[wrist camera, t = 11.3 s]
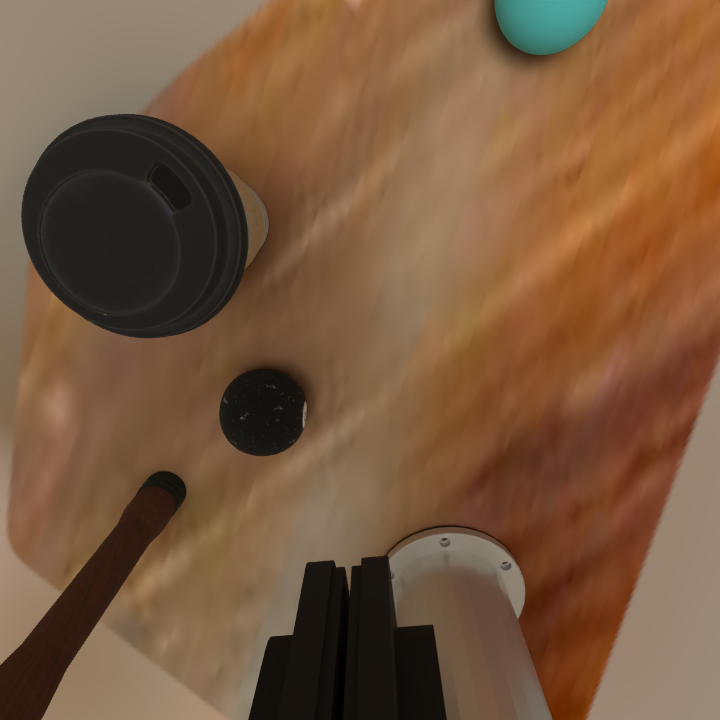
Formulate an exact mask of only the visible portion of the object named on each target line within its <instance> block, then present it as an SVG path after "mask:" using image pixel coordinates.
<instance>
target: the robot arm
mask: <svg viewBox="0 0 720 720" xmlns="http://www.w3.org/2000/svg"><path fill="white" fill-rule="evenodd" d="M525 592H526V591H525V584H524V579H523V576H522V573H521V571H520V568H519V566H518V564H517V562H516V560H515V558H514V557H513V555H512V554H511V553H510V552H509V551H508V550H507V548H506V547H505V546H503V545H502V544H501V543H499V542H498V541H497V540H495V539H494V538H492V537H490V536H488V535H486V534H484V533H482V532H478V531H475V530H471V529H467V528H459V527H441V528H435V529H430V530H425V531H422V532H420V533H417V534H415V535H412V536H410V537H409V538H407V539H405V540H404V541H402V542H400V543H399V544H398V545H397V546H396V547H394V548H393V549H392V550H391V551H390V552H389V553H388V555H387V556H379V557H367V558H362V562H361V566H352V573H351V589H350V596H349V589H348V583H347V577H346V571H345V567H338V568H336V565H335V562H334V561H333V560H331V561H319V562H308V563H307V564H306V568H305V573H304V579H303V584H302V589H301V595H300V600H299V605H298V611H297V616H296V621H295V627H294V632H293V635H286V636H273V637H270V639H269V640H268V643H267V646H266V649H265V653H264V658H263V662H262V666H261V670H260V674H259V678H258V682H257V686H256V690H255V695H254V699H253V703H252V707H251V711H250V715H249V719H248V720H552V717H551V714H550V711H549V708H548V705H547V703H546V700H545V697H544V694H543V691H542V688H541V685H540V682H539V679H538V677H537V674H536V671H535V668H534V665H533V662H532V659H531V656H530V654H529V651H528V648H527V645H526V642H525V639H524V636H523V633H522V631H521V628H520V625H519V622H518V618H519V616H520V615H521V612H522V609H523V606H524V603H525Z"/></svg>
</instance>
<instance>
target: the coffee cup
mask: <svg viewBox="0 0 720 720" xmlns="http://www.w3.org/2000/svg"><path fill="white" fill-rule="evenodd" d="M21 215H22V216H21V217H22V229H23V235H24V240H25V244H26V247H27V250H28V253H29V256H30V258H31V260H32V263H33V265H34V267H35V269H36V270H37V272H38V274H39V275H40V277H41V278H42V280H43V281H44V283H45V284H46V285H47V287H48V288H49V289H50V290H51V291H52V292H53V294H54V295H55V296H56V297H57V298H58V299H59V300H61V301H62V302H63V303H64V304H65V305H66V306H68V307H69V308H70V309H72V310H73V311H74V312H76V313H77V314H79V315H80V316H82V317H83V318H85V319H86V320H88V321H90V322H91V323H93V324H95V325H97V326H99V327H101V328H103V329H105V330H108V331H111V332H113V333H117V334H120V335H124V336H129V337H136V338H160V337H167V336H173V335H177V334H182V333H185V332H188V331H190V330H193V329H195V328H197V327H199V326H201V325H203V324H204V323H206V322H207V321H209V320H210V319H212V318H213V317H214V316H215V315H216V314H218V313H219V312H220V311H221V310H222V309H223V308H224V307H225V305H226V304H227V303H228V302H229V300H230V299H231V297H232V296H233V294H234V293H235V291H236V289H237V287H238V285H239V283H240V281H241V278H242V276H243V272H244V270H245V269H246V268H247V267H248V266H249V264H250V263H251V262H252V261H253V259H254V258H255V256H256V254H257V253H258V251H259V250H260V248H261V247H262V245H263V244H264V242H265V240H266V237H267V234H268V229H269V219H268V214H267V211H266V208H265V206H264V204H263V202H262V200H261V199H260V197H259V196H258V195H257V194H256V192H255V191H254V190H253V189H252V188H251V187H250V186H249V185H247V184H246V183H244V182H243V181H242V180H241V179H240V178H239V177H238V176H237V175H236V174H235V173H233V172H232V171H230V170H229V169H228V168H226V167H225V166H223V165H222V164H221V162H220V161H219V160H218V159H217V158H216V156H215V155H214V154H213V153H212V152H211V151H210V150H209V149H208V148H207V147H206V146H205V145H204V144H202V143H201V142H200V141H199V140H197V139H196V138H195V137H194V136H192V135H191V134H189V133H187V132H186V131H184V130H182V129H181V128H179V127H177V126H175V125H173V124H170V123H168V122H166V121H163V120H160V119H157V118H153V117H149V116H143V115H136V114H119V115H106V116H100V117H95V118H92V119H88V120H85V121H83V122H81V123H78V124H76V125H74V126H72V127H70V128H69V129H67V130H66V131H64V132H63V133H62V134H60V135H59V136H58V137H57V138H56V139H55V140H54V141H53V142H52V143H51V144H50V145H49V146H48V147H47V148H46V150H45V151H44V152H43V154H42V155H41V157H40V158H39V160H38V162H37V164H36V165H35V167H34V169H33V171H32V173H31V175H30V177H29V179H28V181H27V184H26V187H25V191H24V195H23V201H22V213H21Z"/></svg>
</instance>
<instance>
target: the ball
mask: <svg viewBox="0 0 720 720" xmlns="http://www.w3.org/2000/svg"><path fill="white" fill-rule="evenodd" d="M607 1H608V0H495V12H496V17H497V21H498V24H499V26H500V29H501V31H502V33H503V34H504V36H505V37H506V38H507V40H508V41H509V42H510V43H511V44H512V45H513V46H515V47H516V48H518V49H519V50H521V51H523V52H526V53H529V54H534V55H549V54H554V53H557V52H560V51H563V50H565V49H567V48H569V47H571V46H572V45H574V44H575V43H577V42H578V41H579V40H581V39H582V38H583V37H584V36H585V35H586V34H587V33H588V32H589V31H590V30H591V29H592V27H593V26H594V25H595V23H596V22H597V21H598V19H599V17H600V16H601V14H602V12H603V10H604V8H605V6H606V4H607Z"/></svg>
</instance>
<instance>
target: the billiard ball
mask: <svg viewBox="0 0 720 720" xmlns="http://www.w3.org/2000/svg"><path fill="white" fill-rule="evenodd" d="M219 415H220V424H221V427H222V430H223V433H224V435H225V436H226V438H227V440H228V441H229V442H230V443H231V444H232V445H233V446H234V447H235V448H237V449H238V450H240V451H242V452H244V453H247V454H250V455H255V456H269V455H274V454H278V453H280V452H283V451H285V450H286V449H288V448H289V447H291V446H292V445H293V444H294V443H295V442H296V441H297V440H298V438H299V437H300V435H301V433H302V431H303V429H304V426H305V422H306V417H307V405H306V400H305V396H304V394H303V391H302V389H301V388H300V386H299V385H298V383H297V382H296V381H295V380H294V379H292V378H291V377H290V376H288V375H286V374H284V373H282V372H279V371H276V370H271V369H258V370H252V371H249V372H246V373H244V374H242V375H240V376H238V377H237V378H235V379H234V380H233V381H232V382H231V383H230V384H229V386H228V387H227V389H226V390H225V392H224V394H223V397H222V400H221V404H220V413H219Z"/></svg>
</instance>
